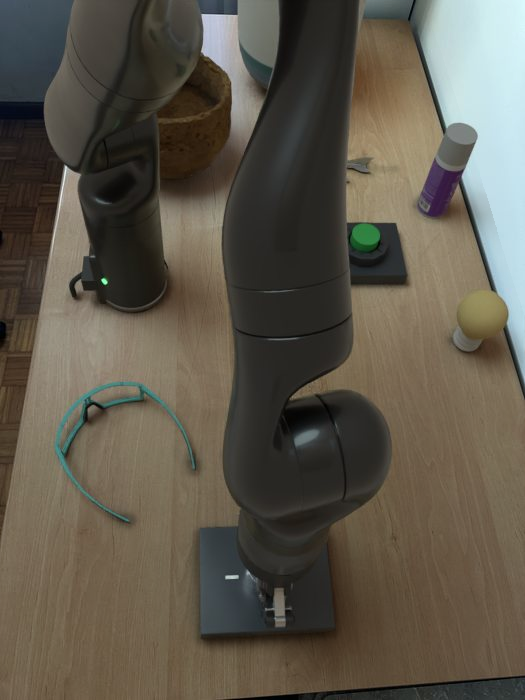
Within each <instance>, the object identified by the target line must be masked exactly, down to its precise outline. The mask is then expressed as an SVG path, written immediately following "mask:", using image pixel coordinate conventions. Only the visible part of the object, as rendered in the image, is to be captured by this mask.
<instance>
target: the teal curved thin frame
mask: <svg viewBox="0 0 525 700" xmlns="http://www.w3.org/2000/svg"><path fill="white" fill-rule="evenodd" d="M128 386H129V387H137V388H138V390H139V392H140V393H139V395H138V396H129V397H124V398H119V399H116V400H112V401H109V402H106V403H100V402H99V401H96V400H93V399H91V397H92V396H93V395H96V394H97V393H99V392H101V391H104V390H106V389H110V388H114V387H128ZM145 395H147V396H148V397H149V398H150V399H152V400H153V401H155V402H156V403H158V404H159V405H161V407H163V408H164V409H165V410H166V411H167V412H168V413H169V415H170V416H171V418H172V419H173V421H175V424H176V425H177V426H178V428H179V429H180V431H181V434H182V436H183V438H184V440H185V443H186V446H187V450H188V454H189V458H190V463H191V467H192V469H193V470H195V469H196V465H195V460H194V456H193V451H192V446H191V444H190V441H189V437H188V435H187V433H186V430H185V429H184V427H183V426H182V423H181V422H180V420H179V419H178V418H177V417H176V415H175V413H174V412H173V411H172V410H171V409H170V407H168V405H167V404H166V402H164V401H163V400H162V399H161V397H159V396H158V394H156V393H155V392H153V391H152V390H151V389H149V388H148V387H147V386H145V384H143V383H139V382H136V381H115V382H109V383H106V384H103V385H100V386H98V387H94V388H92V389H90V390H89V391H87V392H86V393H84V394H83V395H82V396H80V397H79V398H78V399H77V400H76V401H75V402H73V404H72V405H71V406H70V407H69V408H68V409H67V411H66V413H65V414H64V415H63V417H62V419H61V421H60V424H59V425H58V429H57V432H56V435H55V436H56V437H55V440H54V451H55V453H56V456H57V457H58V460H59V462H60V465H61V467H62V468H63V470H64V471H65V474H66V475H67V476H68V477H69V479H70V480H71V481H72V482H73V484H75V486H76V487H77V488H78V489H79V490H80V491H81V492H82V494H83V495H84V496H85V497H86V498H87V499H89V501H91V502H92V503H93V504H95V505H96V506H98V507H99V508H100V509H102V510H103V511H105V512H107V513H108V514H109V515H112V516H114V517H116V518H117V519H120V520H122V521H124V522H127V523H130V519H128V518H127V517H124V516H122V515H120V514H118V513H116V512H114V511H112V510H111V509H109V508H107V507H106V506H104V505H103V504H102V503H100V502H98V501H97V500H96V499H95V498H93V497H92V496H91V495H90V494H89V493H88V492H87V491H85V490H84V487H82V485H80V483H79V482H78V481H77V480H76V478H75V477H74V475H73V473H72V471H71V469H70V468H69V465H68V464H67V461H66V459H65V456H66V455H67V452H68V449H69V447H70V444H71V443H72V440H73V439H74V438H75V436H76V435H77V432H78V431H79V429H80V428H81V427H82V426H83V425H84V423H85V422H88V419H89V409H90V408H91V407H92V406H94V407H96V408H98V409H100V410H102V411H103V410H104V409H105V408H108V407H111V406H116V405H119V404H123V403H129V402H138V401H143V400H144V397H145ZM82 403H83V404H82ZM81 404H82V407H81V411H80V420H79V421H78V422H77V423H76V425H75V426H74V428H73V429H72V430H71V432H70V434H69V435H68V438H67V439H66V441H65V443H64V445H63V448H62V449H61V446H60V440H61V435H62V432H63V431H64V427H65V425H66V423H67V421H68V419H69V418H70V416H71V415H72V413H73V412H74V411H75V409H77V407H79V406H80V405H81Z"/></svg>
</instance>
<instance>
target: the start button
mask: <svg viewBox="0 0 525 700" xmlns="http://www.w3.org/2000/svg"><path fill="white" fill-rule="evenodd" d="M379 239H380V233H379V231H378V229H377V228H376V227H374V226H373V225H370V224H365V223H364V224H359V225H357V226H355V227H354V229H353V231H352V235H351V238H350V243H351V245H352V247H353V248H354V249H356V250H357V251H360V252H364V253H368V252H371V251H373V250H375V249H376V247H377V245H378V242H379Z"/></svg>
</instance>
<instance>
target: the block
mask: <svg viewBox="0 0 525 700" xmlns="http://www.w3.org/2000/svg"><path fill="white" fill-rule="evenodd" d="M364 223H365V224H370V225H373V226H374V227H376V228H377V229H378V231H379V233H380V239H379V242H378V245H377V247H376V249H375V250H373V251H371V252H368V253H364V252H360V251H357V250H356V249H354V248H353V247H352V245H351V243H350V238H351V235H352V231H353V229H354V227H355V226H357V225H359V224H364ZM347 240H348V253H349V268H350V283H351V286H352V285H356V286H357V285H360V286H361V285H404V284H405V282H406V279H407V277H408V272H407V268H406V262H405V257H404V252H403V248H402V243H401V238H400V235H399V230H398V224H397V222H368V221H365V222H363V221H355V222H347Z"/></svg>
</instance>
